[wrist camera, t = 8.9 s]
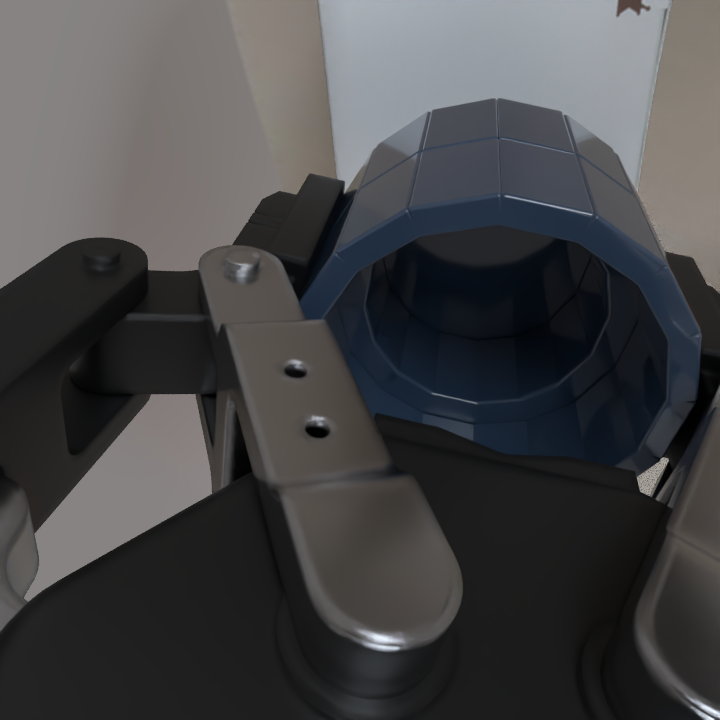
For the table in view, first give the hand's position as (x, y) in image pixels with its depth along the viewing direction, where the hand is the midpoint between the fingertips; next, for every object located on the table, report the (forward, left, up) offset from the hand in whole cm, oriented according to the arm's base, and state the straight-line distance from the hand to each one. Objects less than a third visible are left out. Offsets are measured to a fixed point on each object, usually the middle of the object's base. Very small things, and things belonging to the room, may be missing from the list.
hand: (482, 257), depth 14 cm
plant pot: (0, 0, -1) cm, 1 cm away
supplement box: (0, 0, -24) cm, 24 cm away
